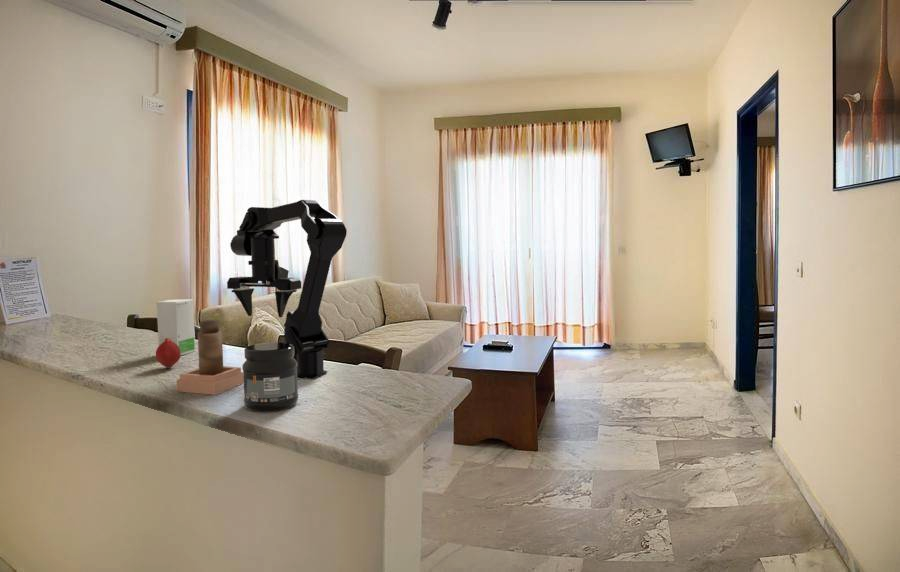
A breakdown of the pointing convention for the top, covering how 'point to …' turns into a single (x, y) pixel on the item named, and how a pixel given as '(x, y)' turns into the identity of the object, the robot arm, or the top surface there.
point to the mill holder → (210, 381)
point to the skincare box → (177, 323)
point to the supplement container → (270, 377)
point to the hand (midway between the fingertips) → (265, 316)
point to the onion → (168, 353)
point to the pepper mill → (210, 348)
